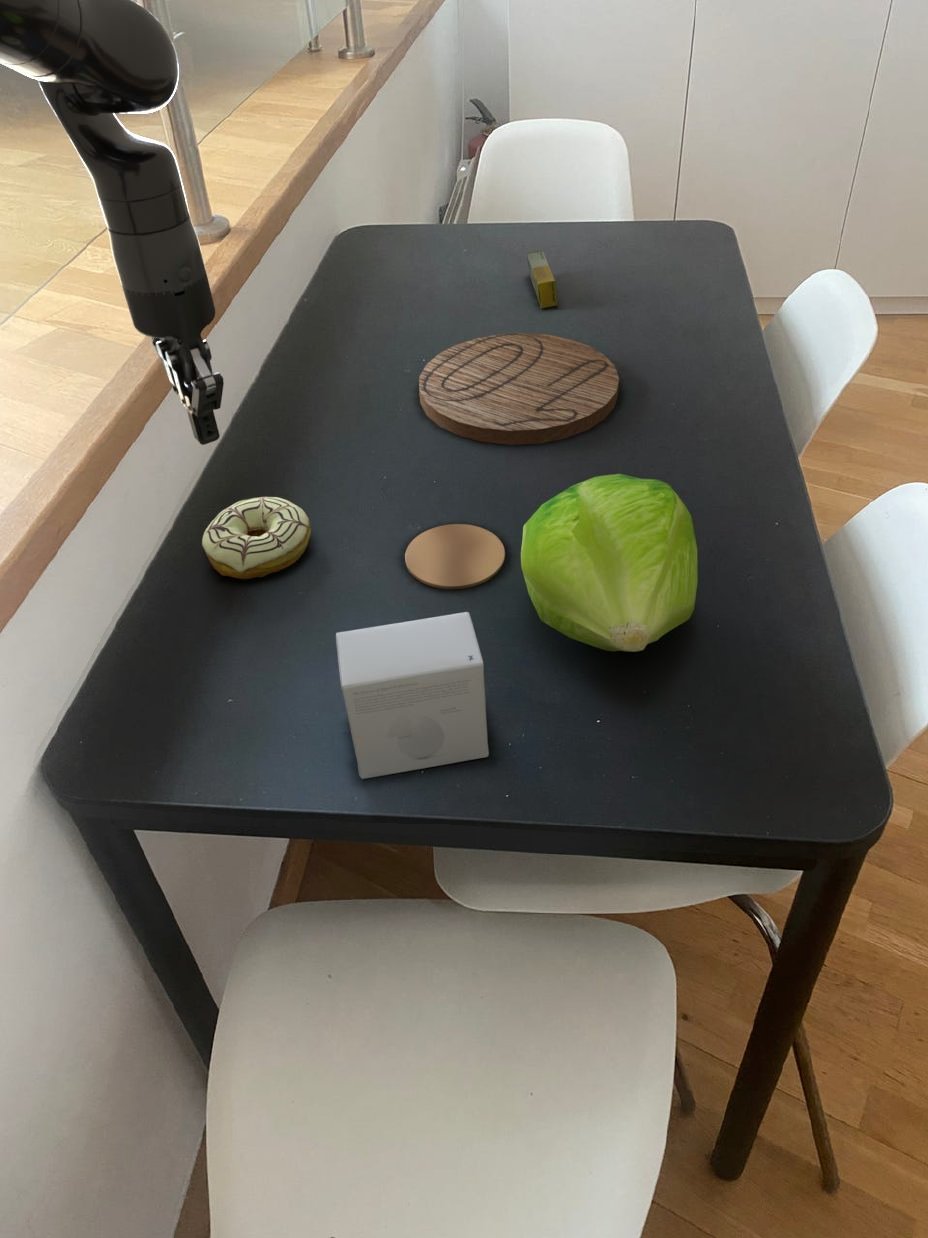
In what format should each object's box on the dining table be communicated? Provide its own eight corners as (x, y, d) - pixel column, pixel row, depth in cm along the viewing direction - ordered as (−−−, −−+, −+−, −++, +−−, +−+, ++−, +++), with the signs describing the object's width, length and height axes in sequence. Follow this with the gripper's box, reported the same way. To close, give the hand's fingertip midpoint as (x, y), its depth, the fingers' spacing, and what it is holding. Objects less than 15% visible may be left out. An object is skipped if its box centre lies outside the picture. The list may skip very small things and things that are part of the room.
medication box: (528, 278, 142) (525, 252, 140) (545, 275, 142) (543, 248, 140) (540, 309, 133) (537, 282, 131) (558, 305, 133) (556, 278, 131)
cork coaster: (424, 600, 88) (424, 597, 87) (392, 541, 94) (392, 538, 94) (520, 573, 90) (520, 569, 90) (482, 517, 97) (482, 514, 97)
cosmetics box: (474, 699, 78) (469, 607, 71) (489, 758, 73) (486, 665, 66) (351, 720, 77) (334, 628, 70) (359, 781, 72) (341, 689, 65)
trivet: (653, 375, 118) (655, 362, 116) (549, 467, 103) (549, 453, 102) (493, 330, 129) (493, 317, 128) (379, 407, 115) (377, 394, 113)
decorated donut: (188, 554, 94) (178, 524, 92) (273, 508, 100) (266, 478, 97) (245, 599, 89) (237, 568, 86) (332, 548, 94) (327, 518, 91)
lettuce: (551, 720, 76) (508, 584, 69) (545, 591, 93) (510, 471, 86) (731, 685, 73) (706, 540, 66) (692, 559, 90) (668, 431, 83)
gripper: (98, 260, 85) (150, 424, 97) (147, 307, 77) (197, 481, 88) (175, 240, 88) (217, 402, 100) (230, 284, 80) (268, 455, 91)
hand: (207, 439), depth 94 cm, fingers closed
